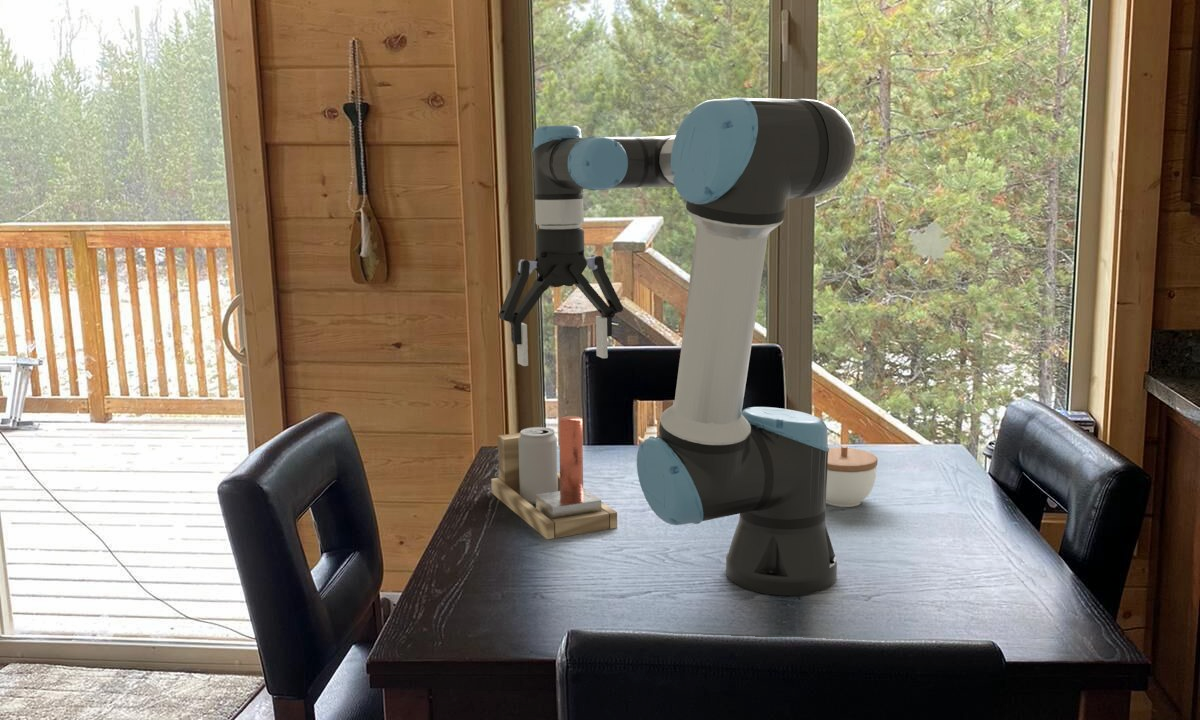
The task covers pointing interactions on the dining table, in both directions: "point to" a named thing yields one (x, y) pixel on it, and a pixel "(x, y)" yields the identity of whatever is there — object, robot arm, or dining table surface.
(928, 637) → the dining table surface
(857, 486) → the lidded jar
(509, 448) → the press frame
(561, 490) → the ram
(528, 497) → the beverage can
